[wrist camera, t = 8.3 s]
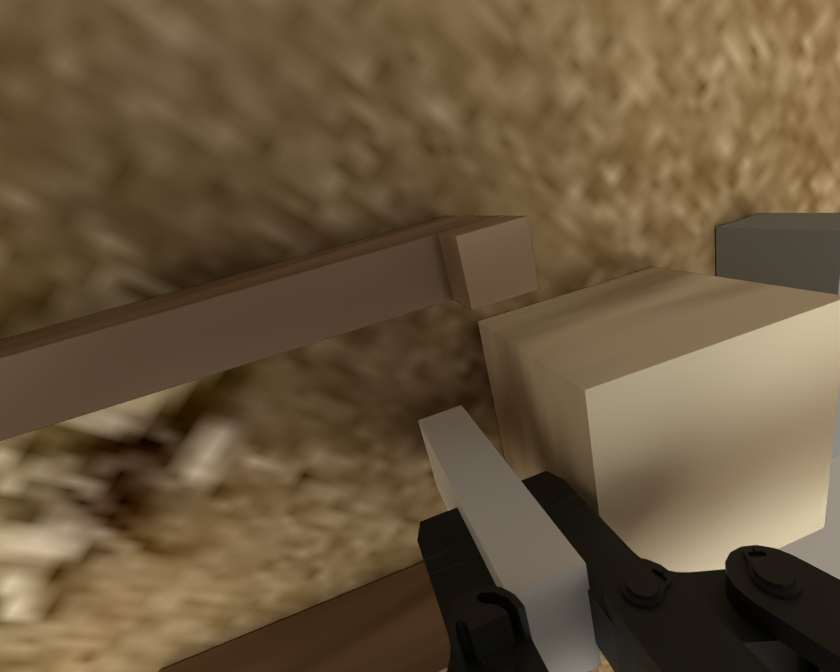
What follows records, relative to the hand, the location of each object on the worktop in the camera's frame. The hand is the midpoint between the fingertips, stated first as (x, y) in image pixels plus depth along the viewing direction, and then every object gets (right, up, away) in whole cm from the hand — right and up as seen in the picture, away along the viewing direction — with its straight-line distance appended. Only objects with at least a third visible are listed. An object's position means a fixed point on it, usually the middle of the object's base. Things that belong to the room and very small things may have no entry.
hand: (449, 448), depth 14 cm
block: (+5, +2, +2) cm, 6 cm away
